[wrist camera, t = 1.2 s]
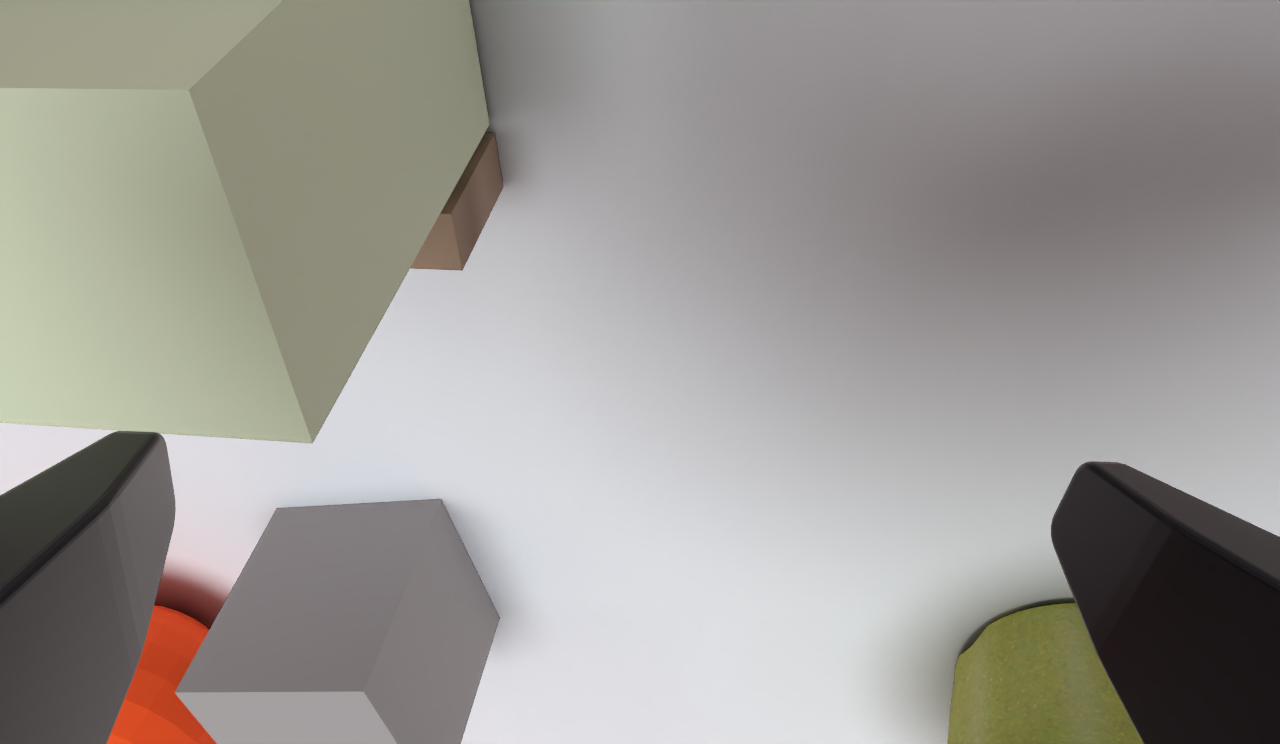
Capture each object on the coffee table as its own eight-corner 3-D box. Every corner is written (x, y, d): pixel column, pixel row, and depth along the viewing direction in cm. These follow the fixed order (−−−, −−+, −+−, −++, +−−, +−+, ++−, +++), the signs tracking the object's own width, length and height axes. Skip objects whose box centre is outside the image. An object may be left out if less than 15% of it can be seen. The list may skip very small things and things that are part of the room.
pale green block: (444, -153, 18) (189, 89, 11) (489, 124, 21) (312, 443, 14) (166, -145, 19) (-230, 84, 12) (250, 120, 22) (-25, 421, 15)
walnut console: (404, -414, 16) (-10, -289, 8) (516, 267, 24) (351, 653, 16) (-284, -369, 18) (-1126, -233, 10) (26, 249, 25) (-326, 587, 18)
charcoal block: (441, 497, 29) (363, 691, 24) (500, 616, 32) (440, 809, 27) (277, 507, 30) (174, 692, 26) (348, 620, 33) (267, 804, 29)
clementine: (255, 728, 38) (156, 936, 33) (61, 656, 37) (-74, 859, 32) (303, 612, 33) (195, 835, 28) (80, 524, 32) (-76, 739, 27)
